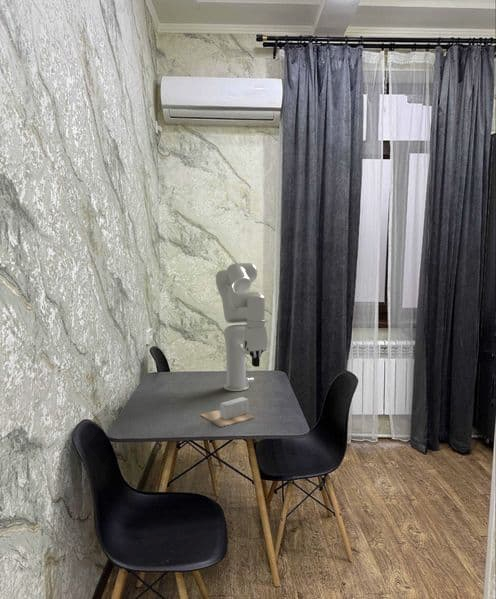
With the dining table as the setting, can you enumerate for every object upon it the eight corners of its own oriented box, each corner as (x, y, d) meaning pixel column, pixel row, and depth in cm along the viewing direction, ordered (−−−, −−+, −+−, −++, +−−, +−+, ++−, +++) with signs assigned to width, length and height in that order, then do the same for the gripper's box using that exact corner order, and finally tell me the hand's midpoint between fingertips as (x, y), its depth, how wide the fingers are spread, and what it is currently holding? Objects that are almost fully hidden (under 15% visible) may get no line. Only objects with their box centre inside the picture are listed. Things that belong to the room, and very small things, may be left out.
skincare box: (242, 396, 190) (219, 402, 182) (248, 399, 187) (226, 405, 179) (242, 410, 191) (220, 417, 183) (249, 413, 187) (226, 420, 180)
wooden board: (233, 407, 195) (233, 406, 195) (254, 418, 182) (254, 417, 182) (200, 415, 186) (200, 414, 186) (220, 427, 173) (220, 426, 173)
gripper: (264, 320, 196) (264, 361, 199) (236, 324, 188) (236, 366, 191) (275, 323, 190) (274, 365, 193) (246, 327, 182) (246, 371, 185)
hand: (255, 365), depth 192 cm, fingers closed
